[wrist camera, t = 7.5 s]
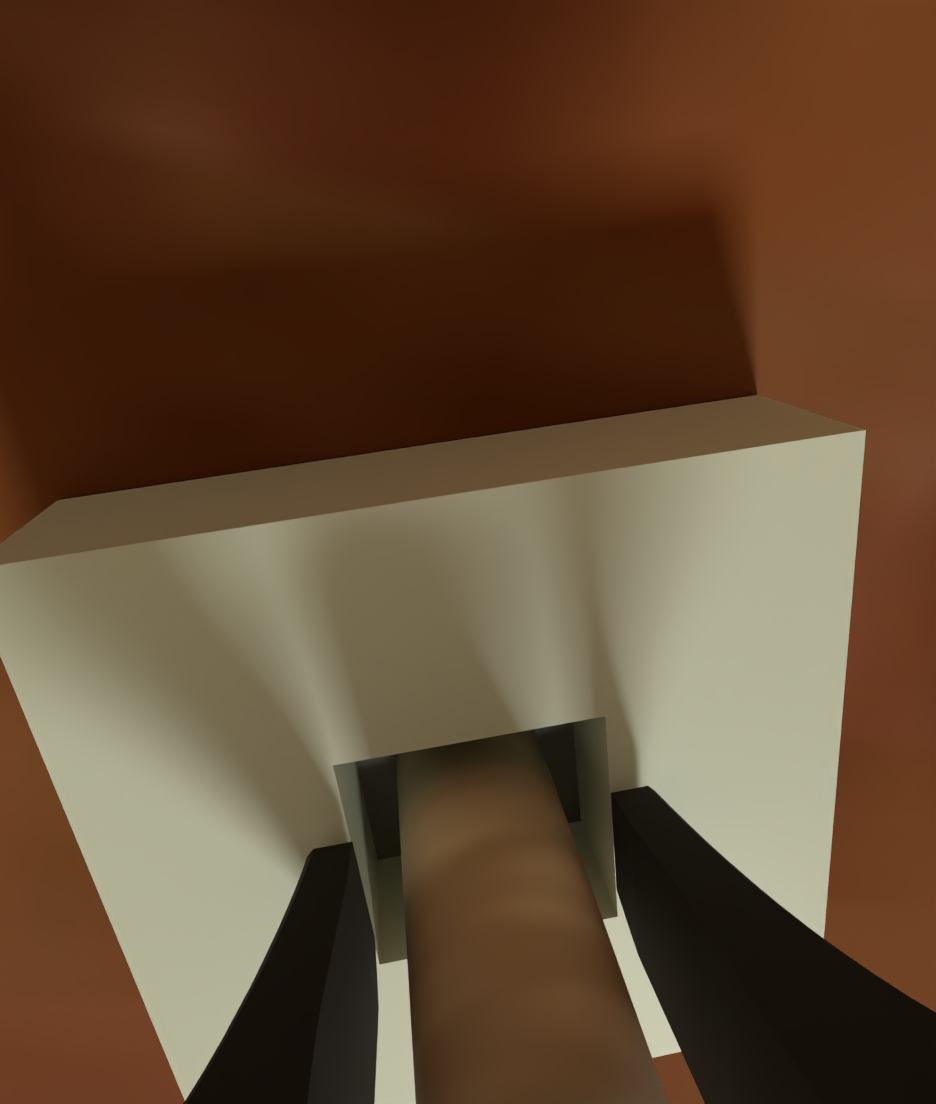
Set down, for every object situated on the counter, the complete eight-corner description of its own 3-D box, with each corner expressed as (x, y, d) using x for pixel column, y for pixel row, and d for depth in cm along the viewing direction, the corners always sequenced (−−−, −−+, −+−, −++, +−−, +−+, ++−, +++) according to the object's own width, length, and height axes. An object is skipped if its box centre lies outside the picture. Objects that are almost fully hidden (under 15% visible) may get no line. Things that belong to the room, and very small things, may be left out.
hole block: (758, 394, 13) (865, 430, 10) (745, 902, 17) (816, 1022, 15) (57, 500, 12) (-36, 570, 9) (233, 1005, 17) (206, 1154, 14)
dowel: (530, 684, 14) (675, 1060, 7) (547, 800, 15) (687, 1219, 8) (382, 715, 14) (396, 1130, 7) (411, 831, 15) (446, 1281, 8)
